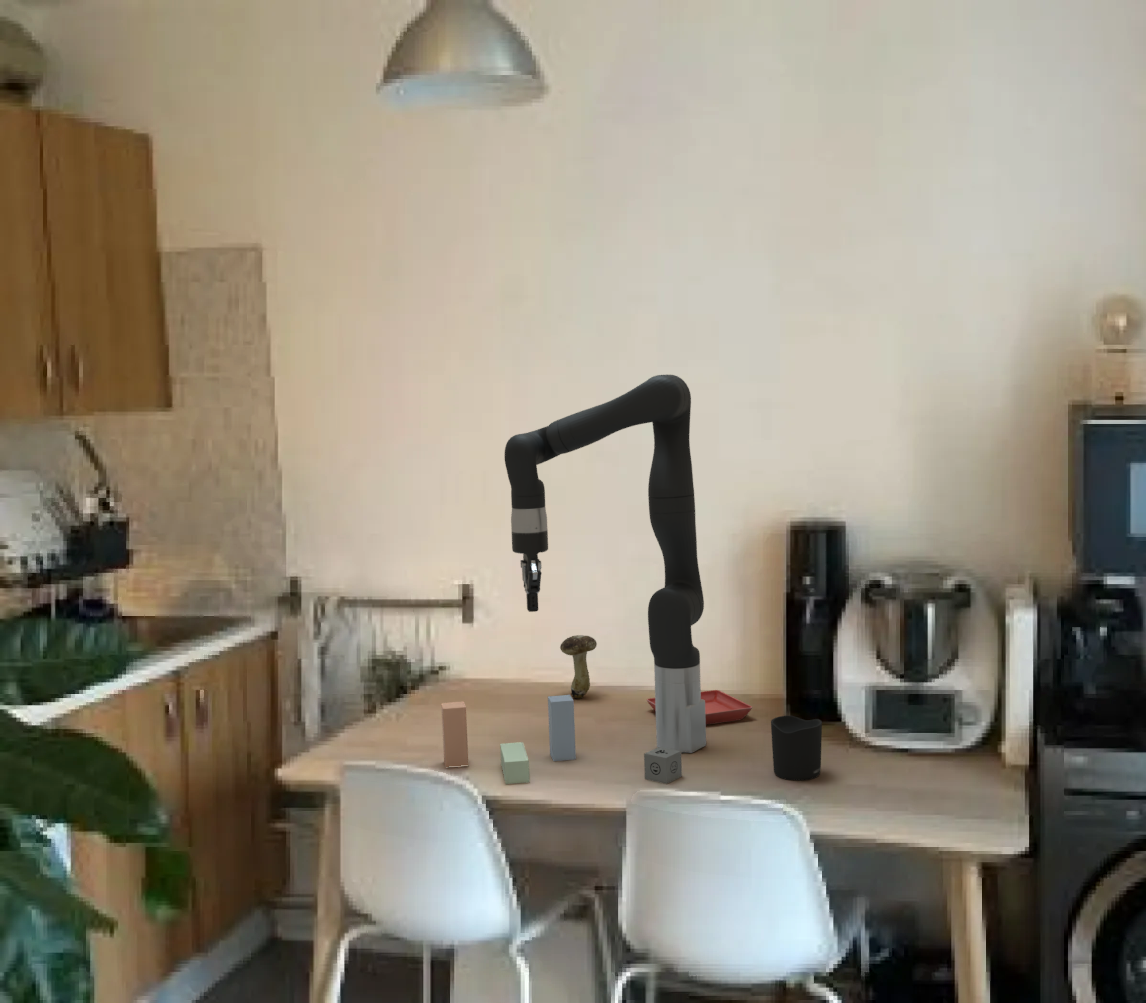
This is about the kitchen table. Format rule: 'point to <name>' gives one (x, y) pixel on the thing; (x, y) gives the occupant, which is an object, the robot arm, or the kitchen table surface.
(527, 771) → the sage green block
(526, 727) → the kitchen table surface
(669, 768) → the dice cube
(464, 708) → the terracotta block
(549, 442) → the robot arm
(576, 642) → the mushroom
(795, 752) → the pen holder
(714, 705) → the red square tray
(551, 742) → the slate blue block
